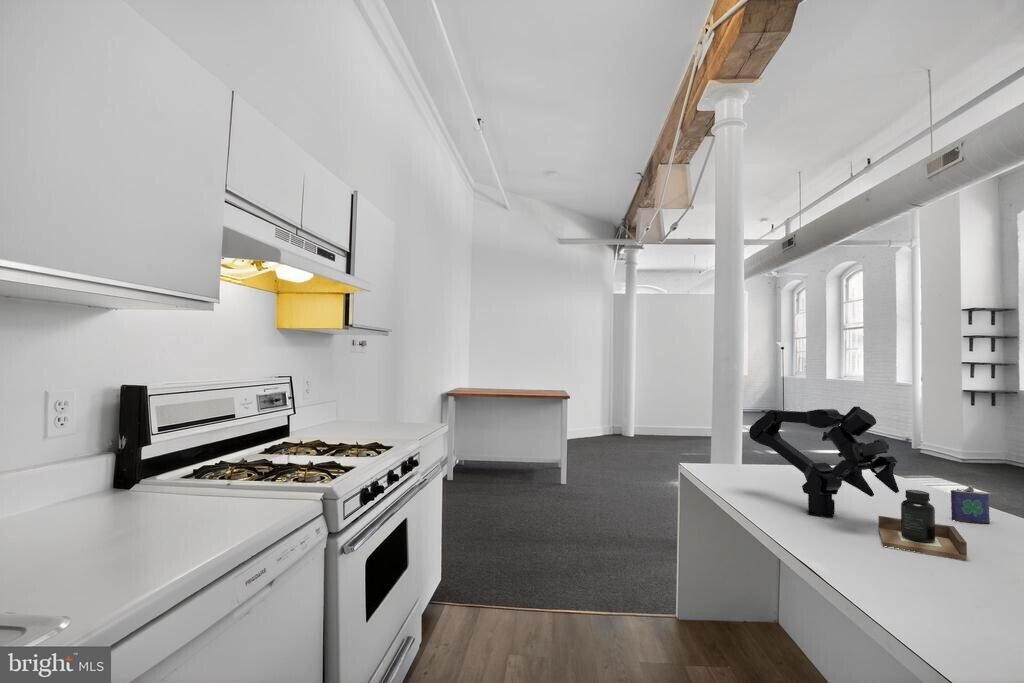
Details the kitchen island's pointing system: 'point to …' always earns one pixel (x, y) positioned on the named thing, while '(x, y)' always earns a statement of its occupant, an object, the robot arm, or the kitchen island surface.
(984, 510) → the flask
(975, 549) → the kitchen island surface
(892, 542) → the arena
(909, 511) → the supplement bottle
